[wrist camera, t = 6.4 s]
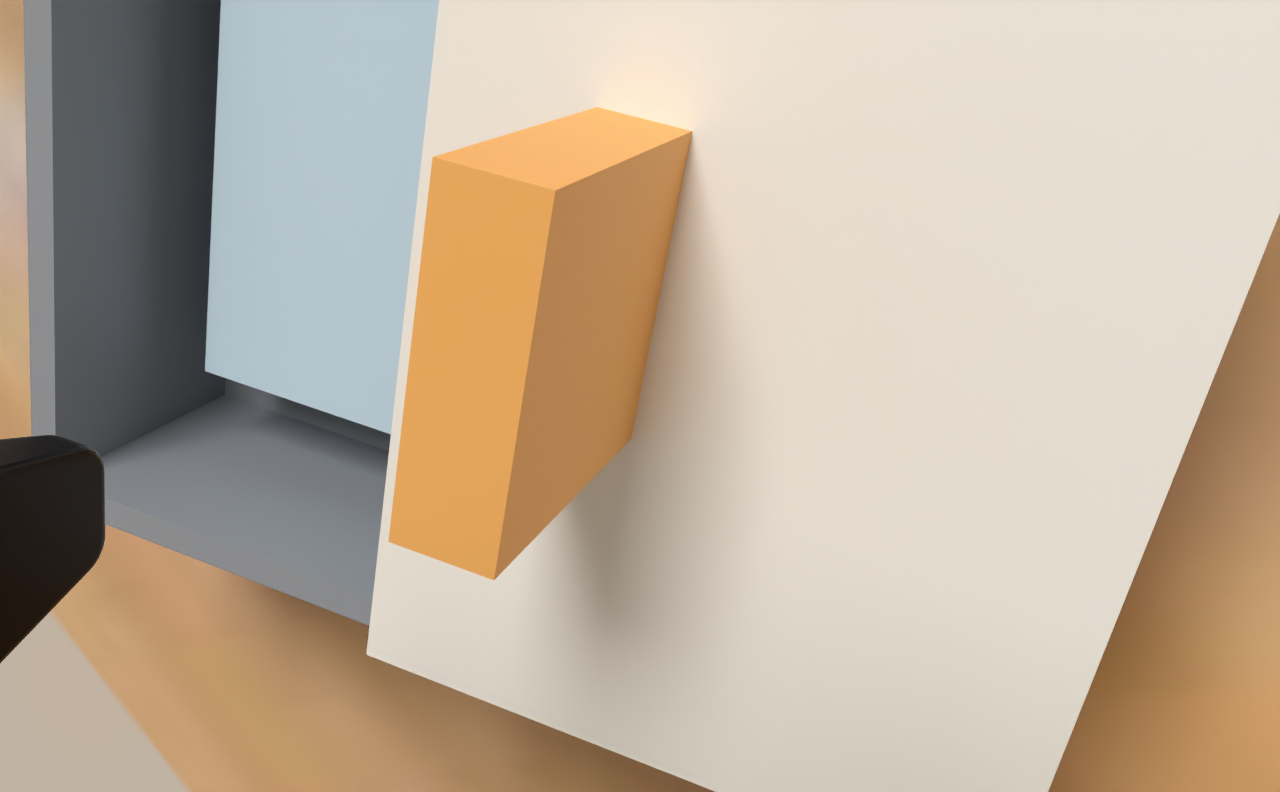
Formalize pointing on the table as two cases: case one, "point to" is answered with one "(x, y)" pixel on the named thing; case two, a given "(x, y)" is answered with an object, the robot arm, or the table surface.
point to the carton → (228, 268)
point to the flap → (811, 366)
